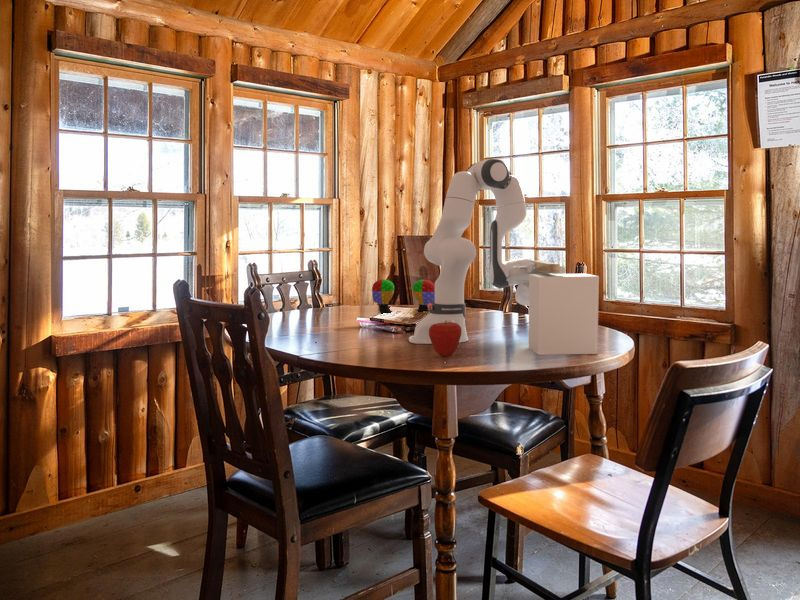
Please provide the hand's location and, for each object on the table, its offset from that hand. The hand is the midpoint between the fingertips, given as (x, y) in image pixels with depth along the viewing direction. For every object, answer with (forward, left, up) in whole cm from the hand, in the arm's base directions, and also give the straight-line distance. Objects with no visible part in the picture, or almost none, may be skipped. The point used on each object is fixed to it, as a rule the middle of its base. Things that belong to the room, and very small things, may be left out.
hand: (541, 264), depth 243 cm
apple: (-36, -16, -29) cm, 49 cm away
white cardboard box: (+5, -10, -29) cm, 31 cm away
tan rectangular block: (0, -5, -2) cm, 6 cm away
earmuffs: (-46, +60, -29) cm, 81 cm away
